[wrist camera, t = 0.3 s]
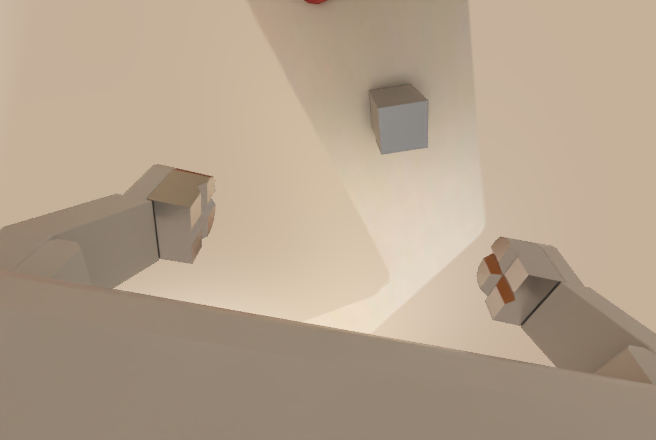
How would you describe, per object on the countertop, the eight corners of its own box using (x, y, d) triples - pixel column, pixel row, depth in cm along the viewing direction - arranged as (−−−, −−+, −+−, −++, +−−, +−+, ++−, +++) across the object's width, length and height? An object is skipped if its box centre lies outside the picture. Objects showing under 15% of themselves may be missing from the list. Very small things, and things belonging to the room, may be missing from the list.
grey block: (368, 90, 53) (378, 108, 44) (410, 83, 52) (427, 100, 44) (372, 131, 56) (381, 154, 48) (411, 124, 56) (427, 147, 47)
